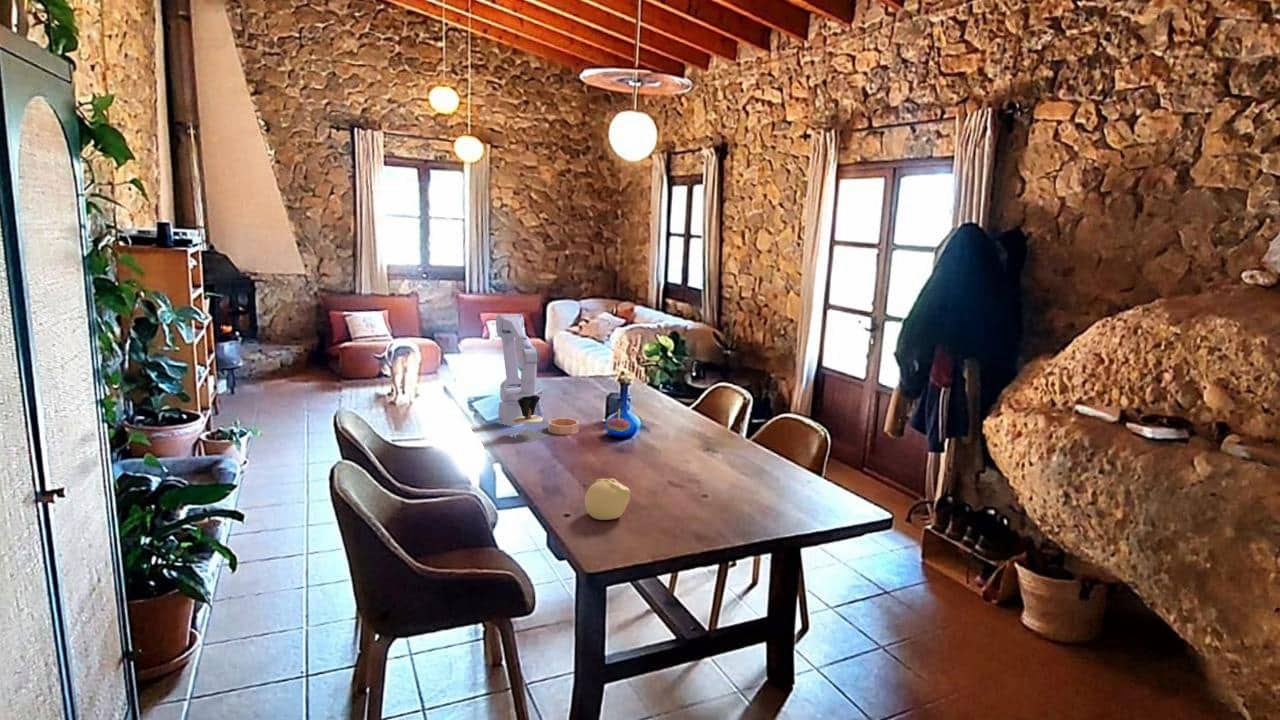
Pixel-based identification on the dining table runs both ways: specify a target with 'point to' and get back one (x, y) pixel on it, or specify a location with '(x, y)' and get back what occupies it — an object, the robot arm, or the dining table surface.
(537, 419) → the lid
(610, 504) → the butter
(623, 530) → the dining table surface
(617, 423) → the cupcake
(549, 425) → the octagonal bowl
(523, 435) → the mat
